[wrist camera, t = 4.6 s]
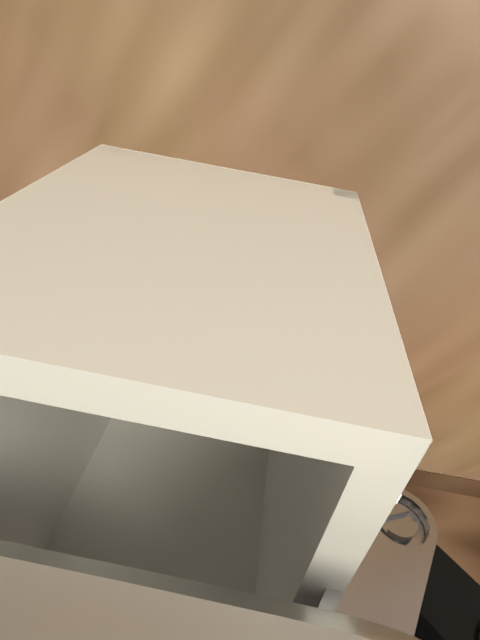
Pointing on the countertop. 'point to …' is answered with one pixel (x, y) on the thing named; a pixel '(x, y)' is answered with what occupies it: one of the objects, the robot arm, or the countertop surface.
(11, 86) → the countertop surface
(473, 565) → the big crate
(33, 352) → the box
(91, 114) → the countertop surface
